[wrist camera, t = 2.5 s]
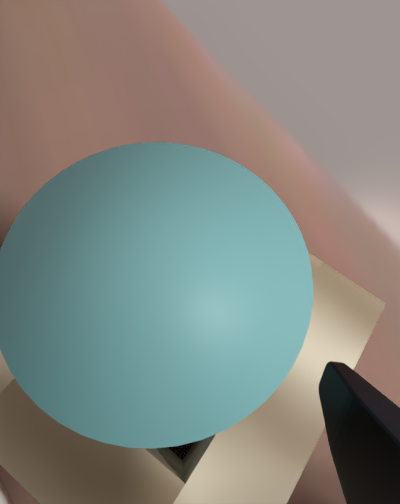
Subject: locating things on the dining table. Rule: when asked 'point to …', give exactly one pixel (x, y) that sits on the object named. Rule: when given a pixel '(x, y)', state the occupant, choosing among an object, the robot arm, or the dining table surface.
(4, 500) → the pad
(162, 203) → the dowel
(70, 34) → the dining table surface
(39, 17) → the dining table surface
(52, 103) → the dining table surface
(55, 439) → the pocket collar
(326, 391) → the robot arm
